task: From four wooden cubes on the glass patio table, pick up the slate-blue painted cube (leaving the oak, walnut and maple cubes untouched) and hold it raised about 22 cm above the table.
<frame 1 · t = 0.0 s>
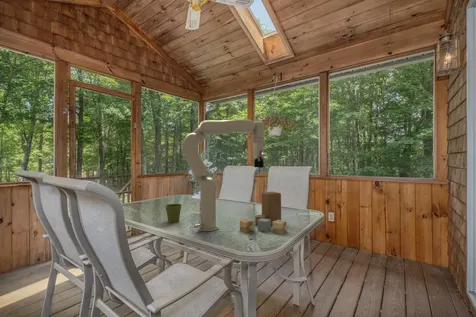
hand: (258, 167, 152), 37 cm above the table, tool pointing down, fingers open, 9 cm apart
cube slate: (264, 229, 141), on the table
cube oak: (246, 230, 140), on the table
cube walnut: (261, 225, 151), on the table
cube maple: (279, 231, 137), on the table
plant pot: (173, 221, 163), on the table
block: (271, 222, 158), on the table
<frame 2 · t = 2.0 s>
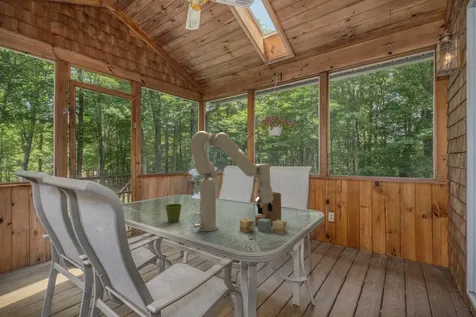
hand: (265, 212, 141), 10 cm above the table, tool pointing down, fingers open, 9 cm apart
nothing on the table moved.
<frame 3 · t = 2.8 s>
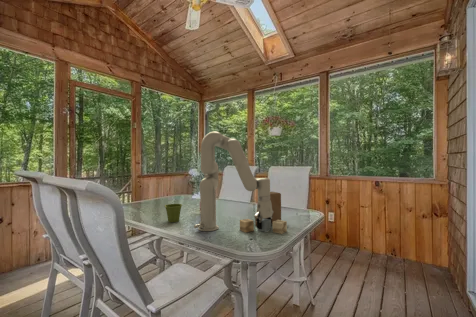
hand: (264, 227, 141), 2 cm above the table, tool pointing down, fingers open, 9 cm apart
nothing on the table moved.
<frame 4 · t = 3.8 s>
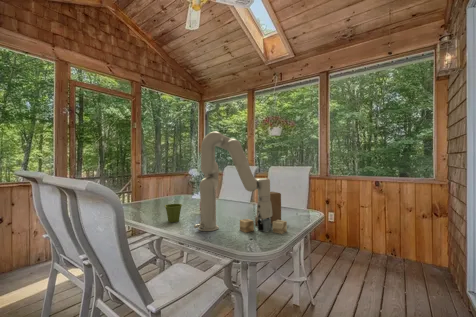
hand: (264, 228, 141), 1 cm above the table, tool pointing down, fingers closed on cube slate, 6 cm apart
cube slate: (264, 229, 141), on the table, touching gripper
everything else where it was.
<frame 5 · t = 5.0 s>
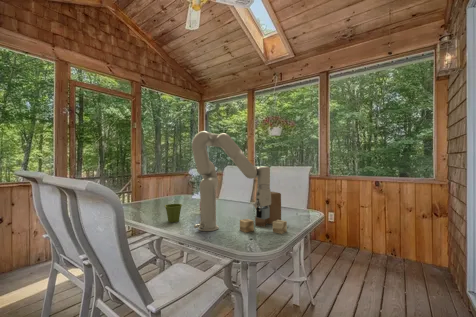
hand: (262, 216, 141), 8 cm above the table, tool pointing down, fingers closed on cube slate, 6 cm apart
cube slate: (262, 217, 141), point 7 cm above the table, touching gripper
everything else where it was.
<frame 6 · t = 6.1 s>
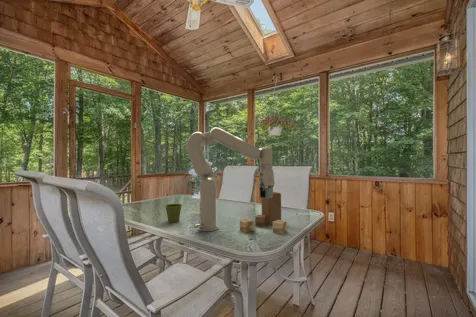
hand: (266, 196, 145), 20 cm above the table, tool pointing down, fingers closed on cube slate, 6 cm apart
cube slate: (266, 197, 145), point 19 cm above the table, touching gripper
everything else where it was.
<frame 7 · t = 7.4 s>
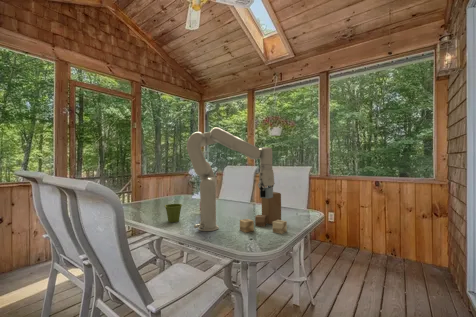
hand: (266, 196, 145), 20 cm above the table, tool pointing down, fingers closed on cube slate, 6 cm apart
cube slate: (266, 197, 145), point 19 cm above the table, touching gripper
everything else where it was.
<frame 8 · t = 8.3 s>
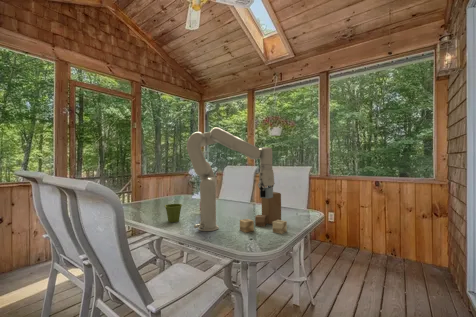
hand: (266, 196, 145), 20 cm above the table, tool pointing down, fingers closed on cube slate, 6 cm apart
cube slate: (266, 197, 145), point 19 cm above the table, touching gripper
everything else where it was.
at the end: the gripper is holding cube slate; cube slate point 18.8 cm above the table; cube maple moved 0.1 cm from its start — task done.
